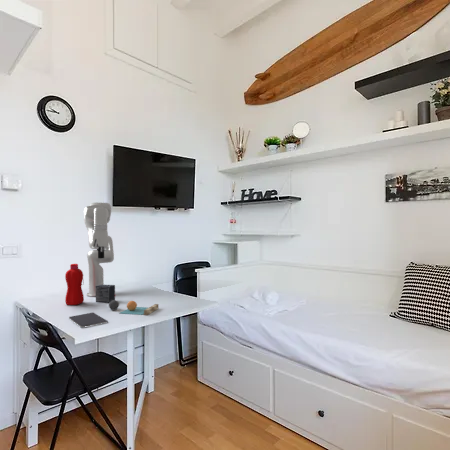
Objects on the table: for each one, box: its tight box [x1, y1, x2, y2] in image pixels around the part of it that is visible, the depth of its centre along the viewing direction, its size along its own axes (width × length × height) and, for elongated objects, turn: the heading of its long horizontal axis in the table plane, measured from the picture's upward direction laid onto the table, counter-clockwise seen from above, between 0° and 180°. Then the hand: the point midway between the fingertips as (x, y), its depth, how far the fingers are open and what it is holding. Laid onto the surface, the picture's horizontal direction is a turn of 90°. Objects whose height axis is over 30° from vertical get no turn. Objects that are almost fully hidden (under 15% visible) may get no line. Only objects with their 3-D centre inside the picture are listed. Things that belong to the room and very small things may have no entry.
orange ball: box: [126, 300, 138, 311], centre depth 184 cm, size 6×6×6 cm
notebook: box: [68, 311, 109, 328], centre depth 166 cm, size 13×2×21 cm
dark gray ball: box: [108, 299, 120, 311], centre depth 186 cm, size 6×6×6 cm
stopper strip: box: [143, 303, 159, 316], centre depth 181 cm, size 14×2×2 cm, turn 167°
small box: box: [95, 284, 116, 304], centre depth 206 cm, size 11×6×10 cm, turn 74°
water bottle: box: [64, 263, 85, 306], centre depth 201 cm, size 9×11×25 cm
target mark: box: [119, 306, 149, 316], centre depth 183 cm, size 14×14×1 cm
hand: (101, 258), depth 195 cm, fingers closed
